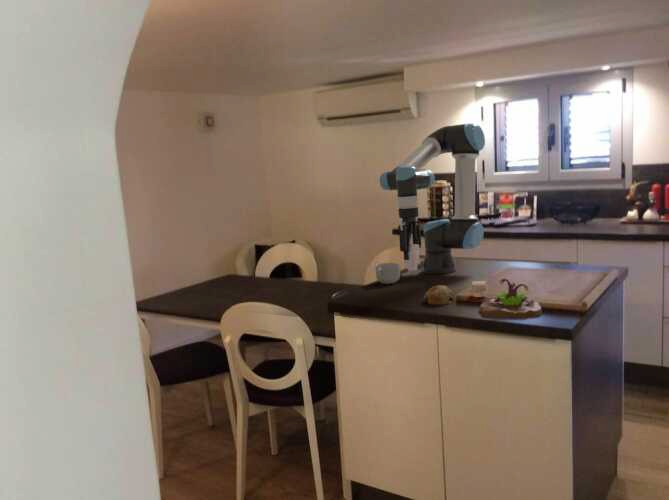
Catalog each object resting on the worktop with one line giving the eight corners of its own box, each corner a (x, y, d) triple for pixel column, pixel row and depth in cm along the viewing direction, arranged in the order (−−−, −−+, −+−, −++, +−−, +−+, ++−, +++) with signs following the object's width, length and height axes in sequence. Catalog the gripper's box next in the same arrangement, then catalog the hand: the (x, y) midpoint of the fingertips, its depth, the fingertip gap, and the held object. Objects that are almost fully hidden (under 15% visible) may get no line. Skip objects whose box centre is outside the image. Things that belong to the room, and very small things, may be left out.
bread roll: (443, 315, 214) (451, 296, 211) (418, 302, 219) (425, 283, 216) (453, 308, 223) (460, 290, 220) (429, 295, 227) (436, 277, 224)
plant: (482, 303, 213) (481, 272, 211) (541, 303, 207) (540, 271, 205) (478, 319, 194) (476, 285, 192) (542, 319, 188) (540, 284, 186)
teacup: (387, 278, 267) (386, 261, 266) (406, 281, 260) (405, 262, 258) (366, 285, 258) (364, 267, 257) (385, 287, 250) (384, 268, 249)
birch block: (473, 294, 226) (472, 281, 226) (487, 294, 225) (486, 281, 224) (472, 297, 222) (471, 284, 221) (486, 297, 220) (485, 284, 219)
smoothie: (420, 270, 231) (417, 234, 229) (403, 271, 232) (400, 235, 230) (421, 267, 237) (418, 232, 235) (405, 268, 239) (402, 233, 236)
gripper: (410, 204, 241) (414, 261, 244) (387, 210, 225) (391, 270, 229) (427, 203, 237) (431, 261, 240) (405, 210, 221) (409, 271, 225)
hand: (412, 266), depth 235 cm, fingers closed on smoothie, 6 cm apart
